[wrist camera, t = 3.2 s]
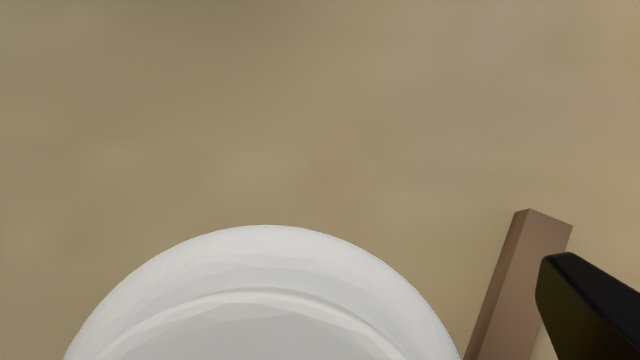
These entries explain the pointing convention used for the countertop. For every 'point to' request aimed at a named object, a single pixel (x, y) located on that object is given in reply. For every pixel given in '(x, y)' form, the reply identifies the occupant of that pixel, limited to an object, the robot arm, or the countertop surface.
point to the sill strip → (516, 289)
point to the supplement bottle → (263, 304)
